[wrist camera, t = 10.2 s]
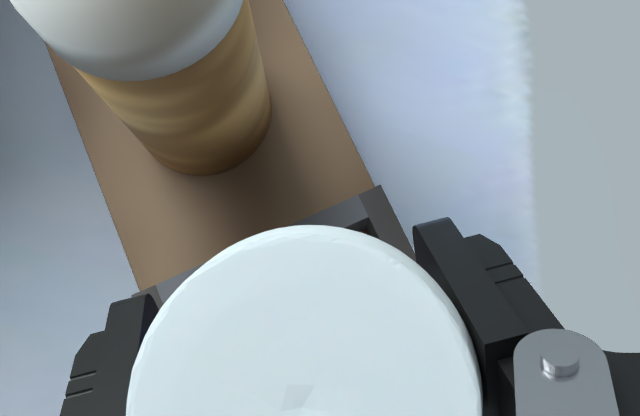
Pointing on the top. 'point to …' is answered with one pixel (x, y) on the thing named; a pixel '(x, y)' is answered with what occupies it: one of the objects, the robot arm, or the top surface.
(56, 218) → the top surface
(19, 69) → the top surface
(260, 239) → the pill bottle
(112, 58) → the bottle rack
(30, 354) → the top surface
